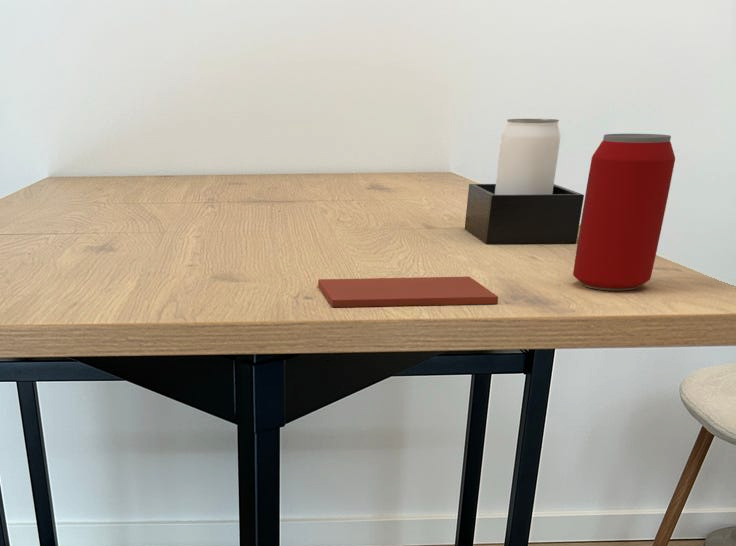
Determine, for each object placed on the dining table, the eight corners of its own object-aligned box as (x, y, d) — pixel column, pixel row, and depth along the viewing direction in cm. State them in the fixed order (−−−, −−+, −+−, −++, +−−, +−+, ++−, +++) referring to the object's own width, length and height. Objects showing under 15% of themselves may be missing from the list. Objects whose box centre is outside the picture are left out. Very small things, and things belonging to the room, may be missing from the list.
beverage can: (623, 277, 88) (650, 132, 82) (664, 290, 82) (697, 136, 76) (557, 280, 87) (580, 133, 81) (595, 294, 81) (622, 138, 75)
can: (555, 239, 108) (573, 120, 102) (502, 240, 107) (516, 121, 101) (532, 231, 114) (548, 118, 107) (481, 232, 113) (494, 118, 106)
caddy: (576, 243, 105) (584, 194, 103) (486, 244, 105) (491, 195, 103) (546, 228, 116) (553, 183, 113) (464, 228, 116) (469, 184, 113)
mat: (468, 283, 86) (469, 276, 86) (497, 304, 78) (498, 296, 78) (317, 286, 85) (318, 279, 85) (332, 307, 77) (332, 299, 77)
